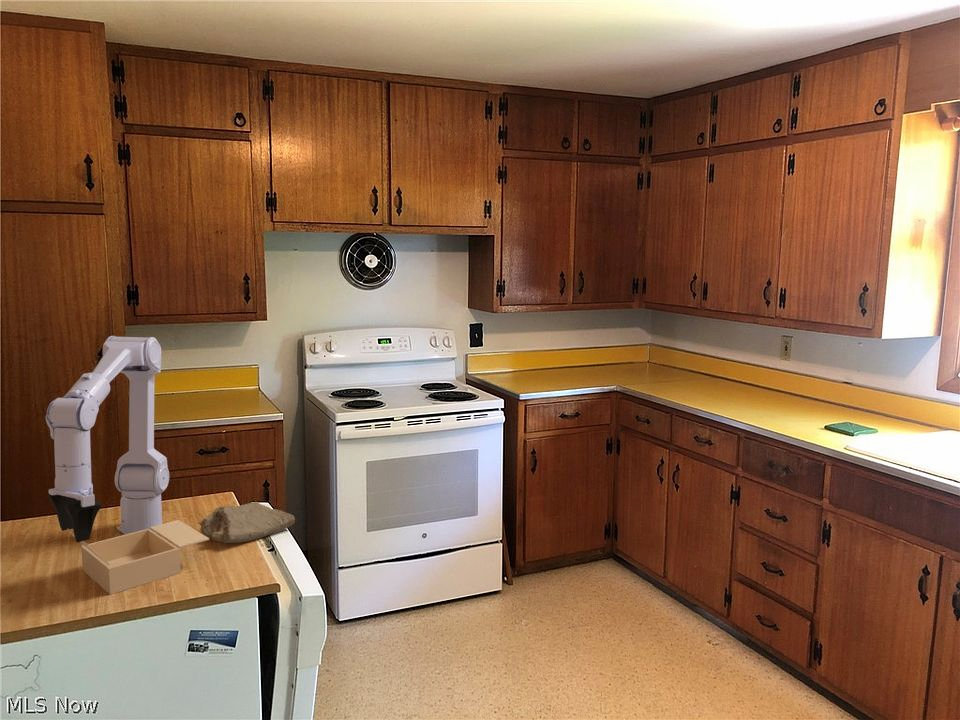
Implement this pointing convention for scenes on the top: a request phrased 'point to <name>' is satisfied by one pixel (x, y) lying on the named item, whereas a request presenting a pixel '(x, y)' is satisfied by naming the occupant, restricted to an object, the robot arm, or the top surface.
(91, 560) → the carton
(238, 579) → the top surface
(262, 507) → the artifact
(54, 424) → the robot arm
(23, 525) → the top surface
